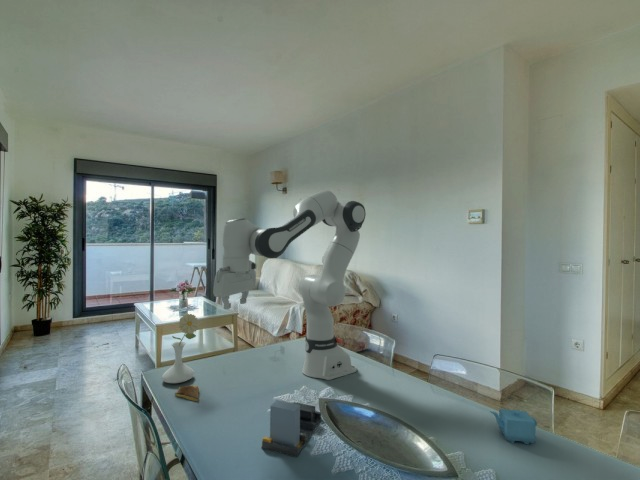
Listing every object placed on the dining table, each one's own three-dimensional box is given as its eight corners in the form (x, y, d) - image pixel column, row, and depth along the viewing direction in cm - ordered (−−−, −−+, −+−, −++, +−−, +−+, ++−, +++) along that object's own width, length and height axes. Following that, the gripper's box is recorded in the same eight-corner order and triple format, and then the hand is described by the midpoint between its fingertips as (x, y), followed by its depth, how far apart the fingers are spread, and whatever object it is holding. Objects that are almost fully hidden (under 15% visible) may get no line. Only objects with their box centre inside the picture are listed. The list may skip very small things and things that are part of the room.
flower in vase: (162, 388, 121) (163, 319, 120) (161, 376, 131) (161, 312, 130) (200, 382, 127) (201, 315, 126) (196, 371, 137) (197, 309, 136)
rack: (261, 448, 88) (261, 431, 88) (291, 412, 106) (291, 398, 106) (296, 457, 85) (296, 439, 84) (321, 418, 102) (321, 404, 102)
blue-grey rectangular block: (269, 443, 89) (270, 406, 89) (276, 436, 92) (276, 400, 92) (294, 449, 87) (294, 411, 87) (299, 441, 90) (300, 404, 90)
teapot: (492, 441, 93) (493, 414, 92) (486, 429, 98) (486, 403, 98) (541, 447, 90) (542, 419, 90) (531, 434, 96) (532, 408, 96)
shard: (198, 403, 112) (198, 398, 112) (173, 407, 109) (173, 401, 109) (198, 389, 122) (198, 384, 122) (176, 392, 120) (176, 387, 120)
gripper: (225, 268, 104) (225, 313, 104) (259, 263, 124) (258, 301, 124) (208, 267, 106) (208, 311, 107) (244, 263, 126) (243, 300, 126)
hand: (235, 306), depth 115 cm, fingers open, 8 cm apart
